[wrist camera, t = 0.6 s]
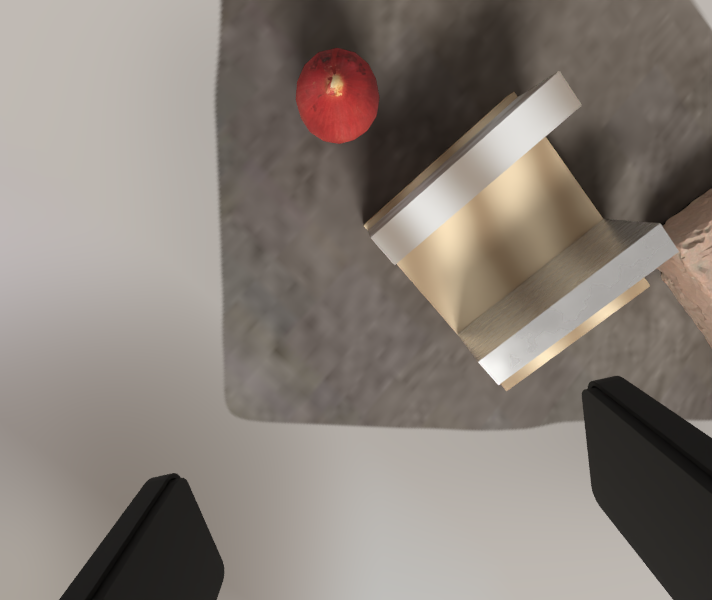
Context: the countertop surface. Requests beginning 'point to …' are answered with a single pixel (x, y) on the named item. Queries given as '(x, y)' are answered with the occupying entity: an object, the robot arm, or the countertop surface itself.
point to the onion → (337, 95)
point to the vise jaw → (565, 293)
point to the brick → (692, 261)
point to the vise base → (493, 214)
